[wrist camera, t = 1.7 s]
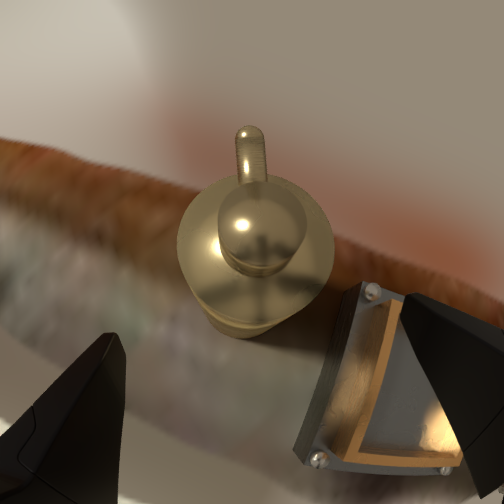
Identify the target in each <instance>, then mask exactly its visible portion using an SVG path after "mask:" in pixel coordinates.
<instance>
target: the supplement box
mask: <svg viewBox="0 0 504 504" xmlns="http://www.w3.org/2000/svg"><path fill="white" fill-rule="evenodd" d="M499 493H502V494H504V484H503V485H501V486H500V487H499Z"/></svg>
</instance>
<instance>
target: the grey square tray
mask: <svg viewBox="0 0 504 504" xmlns="http://www.w3.org/2000/svg"><path fill="white" fill-rule="evenodd" d="M404 298H405V296H402V295H400V294H397V293H394V292H391V291H389V290H386V289H383V288H381V287H380V286H379V285H378V284H376V283H367V282H364V281H362V282H360V283H358V284H357V285H355V286H353V287H352V288H350V289H348V290H347V291H345V292H344V295H343V299H342V303H341V306H340V310H339V314H338V317H337V321H336V325H335V328H334V332H333V335H332V338H331V342H330V345H329V348H328V352H327V355H326V358H325V361H324V364H323V368H322V371H321V374H320V377H319V380H318V383H317V386H316V389H315V392H314V394H313V397H312V400H311V403H310V406H309V408H308V411H307V414H306V417H305V419H304V422H303V425H302V427H301V430H300V432H299V435H298V437H297V440H296V442H295V445H294V447H293V451H294V452H295V454H296V455H297V456H298V458H299V459H300V460H301V462H302V463H303V464H304V465H307V466H313V467H315V468H317V469H321V468H325V469H332V470H340V471H348V472H357V473H368V474H383V475H445V476H446V475H449V474H450V473H451V472H452V470H453V468H454V466H459V465H460V463H461V460H462V458H463V452H462V451H461V448H460V446H459V444H458V441H457V439H456V437H455V434H454V432H453V430H452V428H451V426H450V423H449V421H448V419H447V417H446V415H445V413H444V411H443V409H442V406H441V404H440V402H439V400H438V398H437V396H436V394H435V392H434V390H433V388H432V386H431V384H430V382H429V380H428V379H427V377H426V375H425V373H424V371H423V369H422V367H421V365H420V363H419V361H418V359H417V357H416V355H415V353H414V351H413V349H412V346H411V344H410V341H409V339H408V337H407V334H406V332H405V330H404V328H403V325H402V323H401V321H400V312H401V309H402V305H403V301H404Z"/></svg>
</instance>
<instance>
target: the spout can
mask: <svg viewBox="0 0 504 504" xmlns="http://www.w3.org/2000/svg"><path fill="white" fill-rule="evenodd" d="M235 148H236V161H237V175H233V176H229V177H227V178H224V179H221V180H219V181H217V182H215V183H213V184H211V185H210V186H209V187H207V188H206V189H204V190H203V191H202V192H201V193H200V194H199V195H197V196H196V198H195V199H194V200H193V201H192V202H191V204H190V205H189V207H188V208H187V210H186V211H185V214H184V216H183V218H182V220H181V223H180V226H179V230H178V237H177V252H178V259H179V263H180V267H181V270H182V272H183V274H184V276H185V279H186V281H187V282H188V284H189V286H190V288H191V290H192V292H193V294H194V295H195V297H196V299H197V301H198V303H199V304H200V306H201V308H202V310H203V312H204V313H205V315H206V317H207V319H208V320H209V322H210V323H211V324H212V325H213V327H215V328H216V329H217V330H218V331H220V332H221V333H223V334H225V335H227V336H230V337H233V338H240V339H245V338H252V337H255V336H258V335H260V334H262V333H264V332H265V331H267V330H269V329H270V328H272V327H274V326H275V325H277V324H279V323H280V322H282V321H283V320H285V319H287V318H288V317H290V316H291V315H293V314H295V313H296V312H298V311H299V310H301V309H302V308H304V307H305V306H306V305H308V304H309V303H310V302H311V301H312V300H313V299H314V298H315V297H316V296H317V295H318V294H319V293H320V291H321V290H322V289H323V287H324V285H325V284H326V282H327V280H328V278H329V275H330V273H331V270H332V266H333V262H334V252H335V251H334V238H333V233H332V230H331V227H330V223H329V221H328V219H327V217H326V215H325V213H324V212H323V210H322V208H321V207H320V206H319V205H318V203H317V202H316V201H315V200H314V199H313V198H312V197H311V196H310V195H309V194H308V193H307V192H306V191H304V190H303V189H302V188H300V187H299V186H297V185H295V184H294V183H292V182H289V181H288V180H285V179H283V178H280V177H277V176H273V175H269V174H267V165H266V154H265V141H264V135H263V133H262V131H261V130H260V129H259V128H257V127H255V126H250V125H248V126H244V127H242V128H241V129H240V130H238V132H237V133H236V136H235Z"/></svg>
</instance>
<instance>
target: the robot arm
mask: <svg viewBox="0 0 504 504" xmlns="http://www.w3.org/2000/svg"><path fill="white" fill-rule="evenodd" d="M400 321H401V323H402V325H403V328H404V330H405V332H406V334H407V337H408V339H409V341H410V344H411V346H412V349H413V351H414V353H415V355H416V357H417V359H418V361H419V363H420V365H421V367H422V369H423V371H424V373H425V375H426V377H427V379H428V380H429V382H430V384H431V386H432V388H433V390H434V392H435V394H436V396H437V398H438V400H439V402H440V404H441V406H442V409H443V411H444V413H445V415H446V417H447V419H448V421H449V423H450V426H451V428H452V430H453V432H454V434H455V437H456V439H457V441H458V444H459V446H460V448H461V451H462V452H463V456H464V458H465V461H466V463H467V466H468V468H469V471H470V473H471V476H472V478H473V481H474V484H475V486H476V489H477V492H478V495H479V497H480V499H482V498H484V497H485V496H487V495H488V494H490V493H491V492H493V491H494V490H496V489H497V488H499V487H500V486H501V485H503V484H504V330H503V329H500V328H498V327H496V326H494V325H492V324H489V323H487V322H485V321H483V320H480V319H478V318H476V317H473V316H471V315H469V314H467V313H464V312H462V311H460V310H457V309H455V308H453V307H450V306H448V305H446V304H443V303H441V302H439V301H436V300H434V299H432V298H429V297H427V296H425V295H422V294H420V293H417V292H415V293H410V294H407V295H406V296H405V298H404V301H403V305H402V309H401V312H400ZM125 382H126V354H125V351H124V349H123V346H122V344H121V341H120V339H119V336H118V335H117V333H115V332H112V333H103V334H102V335H101V336H100V337H99V338H98V339H97V340H96V341H95V342H94V343H93V344H91V345H90V346H89V347H88V348H87V349H86V350H85V351H84V352H83V353H82V354H81V355H80V356H79V357H78V358H77V359H76V360H75V361H74V362H73V363H72V364H71V365H70V366H69V367H68V368H67V369H66V370H65V371H64V372H63V373H62V374H61V375H60V376H59V377H58V379H56V380H55V381H54V383H53V384H52V385H51V386H50V387H49V388H48V389H47V390H46V391H45V392H44V393H43V394H42V395H41V396H40V397H39V398H38V399H37V400H36V401H35V402H34V403H33V406H31V407H30V408H29V409H28V410H27V411H26V412H25V413H24V414H23V415H22V416H21V417H20V418H19V419H18V420H17V421H16V422H15V423H14V424H13V425H12V426H11V427H10V428H9V429H8V430H7V431H6V432H5V433H3V434H2V435H1V436H0V504H118V478H119V461H120V448H121V436H122V426H123V418H124V409H125ZM502 504H504V496H503V500H502Z"/></svg>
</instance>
